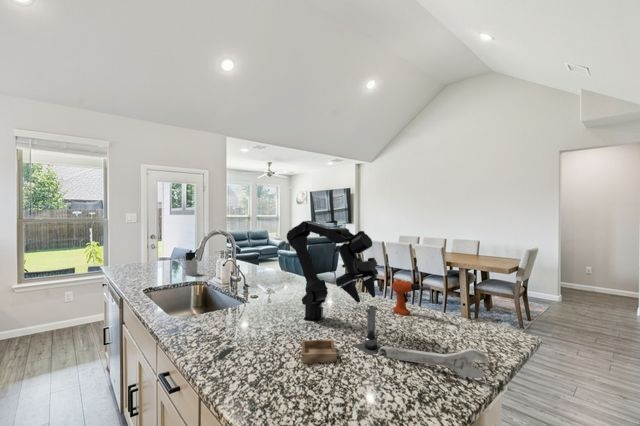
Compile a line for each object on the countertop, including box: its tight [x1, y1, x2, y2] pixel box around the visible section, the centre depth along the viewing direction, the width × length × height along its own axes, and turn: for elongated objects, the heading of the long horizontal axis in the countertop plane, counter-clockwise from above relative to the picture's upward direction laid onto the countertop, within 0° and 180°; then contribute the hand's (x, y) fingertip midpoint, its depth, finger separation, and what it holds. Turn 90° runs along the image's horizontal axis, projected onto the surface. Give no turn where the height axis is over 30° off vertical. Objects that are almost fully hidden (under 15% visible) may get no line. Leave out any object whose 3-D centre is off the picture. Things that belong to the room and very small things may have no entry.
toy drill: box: [391, 279, 431, 317], centre depth 133 cm, size 5×19×15 cm, turn 42°
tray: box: [301, 339, 338, 364], centre depth 95 cm, size 10×10×3 cm
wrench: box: [377, 345, 489, 380], centre depth 88 cm, size 8×2×30 cm
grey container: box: [177, 251, 199, 277], centre depth 217 cm, size 9×14×15 cm, turn 80°
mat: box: [353, 342, 386, 356], centre depth 100 cm, size 8×8×1 cm
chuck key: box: [364, 305, 379, 350], centre depth 100 cm, size 4×4×13 cm
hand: (366, 299), depth 110 cm, fingers open, 9 cm apart
